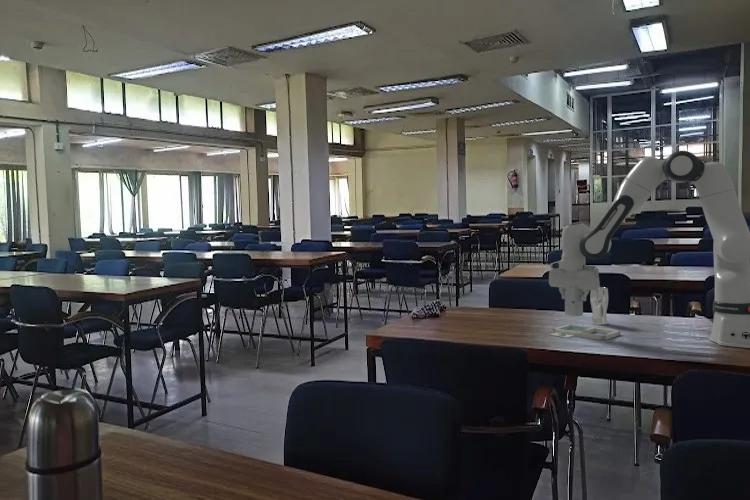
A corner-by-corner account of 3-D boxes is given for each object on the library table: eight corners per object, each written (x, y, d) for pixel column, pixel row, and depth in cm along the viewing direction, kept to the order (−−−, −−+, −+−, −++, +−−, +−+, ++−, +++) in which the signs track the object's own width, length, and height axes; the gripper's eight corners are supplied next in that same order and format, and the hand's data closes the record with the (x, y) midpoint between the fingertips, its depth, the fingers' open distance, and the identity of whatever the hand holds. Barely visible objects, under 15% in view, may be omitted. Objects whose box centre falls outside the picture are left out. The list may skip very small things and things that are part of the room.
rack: (620, 334, 224) (620, 331, 224) (596, 342, 213) (596, 338, 213) (570, 327, 240) (570, 324, 240) (545, 334, 229) (545, 330, 229)
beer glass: (605, 326, 241) (605, 289, 240) (588, 324, 246) (588, 288, 245) (610, 323, 247) (610, 287, 246) (593, 321, 251) (593, 286, 250)
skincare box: (564, 314, 233) (563, 284, 233) (573, 313, 235) (572, 283, 234) (574, 316, 228) (573, 285, 227) (584, 315, 229) (583, 284, 229)
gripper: (602, 265, 224) (603, 301, 225) (555, 262, 240) (555, 296, 241) (594, 266, 220) (594, 303, 221) (546, 264, 236) (546, 298, 237)
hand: (573, 299), depth 231 cm, fingers closed on skincare box, 7 cm apart
